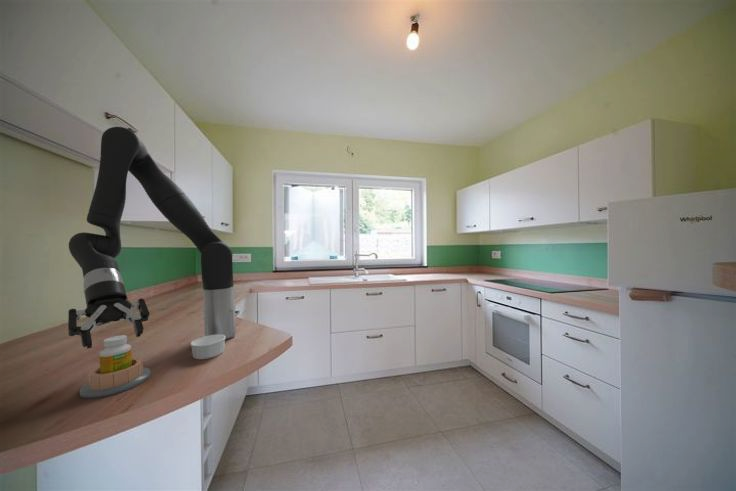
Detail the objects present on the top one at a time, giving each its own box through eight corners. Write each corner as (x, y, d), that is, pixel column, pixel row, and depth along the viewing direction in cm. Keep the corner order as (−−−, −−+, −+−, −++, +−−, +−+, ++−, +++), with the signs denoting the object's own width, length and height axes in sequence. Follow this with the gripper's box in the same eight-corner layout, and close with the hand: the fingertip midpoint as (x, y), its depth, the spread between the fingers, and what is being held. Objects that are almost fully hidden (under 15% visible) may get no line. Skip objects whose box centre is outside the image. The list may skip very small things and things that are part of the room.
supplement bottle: (113, 385, 58) (111, 342, 58) (93, 384, 59) (92, 341, 59) (138, 373, 64) (136, 334, 64) (119, 372, 65) (118, 333, 65)
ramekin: (198, 363, 71) (197, 347, 71) (185, 355, 76) (185, 341, 76) (231, 352, 78) (230, 337, 78) (218, 345, 83) (217, 332, 83)
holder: (158, 367, 69) (157, 352, 69) (138, 390, 58) (137, 372, 58) (99, 377, 65) (98, 361, 65) (65, 404, 54) (64, 384, 54)
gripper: (64, 283, 62) (71, 341, 55) (141, 276, 73) (155, 323, 66) (63, 303, 65) (70, 360, 58) (138, 293, 77) (150, 339, 70)
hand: (115, 340), depth 62 cm, fingers open, 8 cm apart
